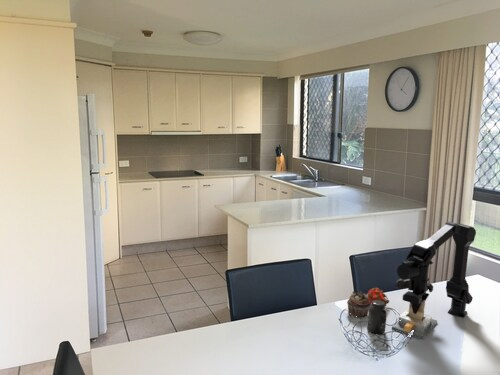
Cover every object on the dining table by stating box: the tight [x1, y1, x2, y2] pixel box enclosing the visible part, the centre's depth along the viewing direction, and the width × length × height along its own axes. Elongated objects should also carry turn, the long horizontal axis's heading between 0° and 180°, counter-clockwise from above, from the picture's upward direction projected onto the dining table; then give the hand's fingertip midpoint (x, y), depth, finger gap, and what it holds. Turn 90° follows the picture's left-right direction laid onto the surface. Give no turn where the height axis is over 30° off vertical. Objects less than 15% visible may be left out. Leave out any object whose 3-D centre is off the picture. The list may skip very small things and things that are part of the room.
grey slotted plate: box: [391, 308, 438, 340], centre depth 173 cm, size 18×12×4 cm, turn 140°
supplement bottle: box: [366, 300, 388, 336], centre depth 167 cm, size 7×7×12 cm
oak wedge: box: [408, 300, 426, 321], centre depth 172 cm, size 3×5×8 cm, turn 50°
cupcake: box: [346, 290, 371, 319], centre depth 181 cm, size 10×10×10 cm
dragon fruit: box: [366, 287, 390, 307], centre depth 190 cm, size 8×8×12 cm
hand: (416, 312), depth 172 cm, fingers open, 3 cm apart
